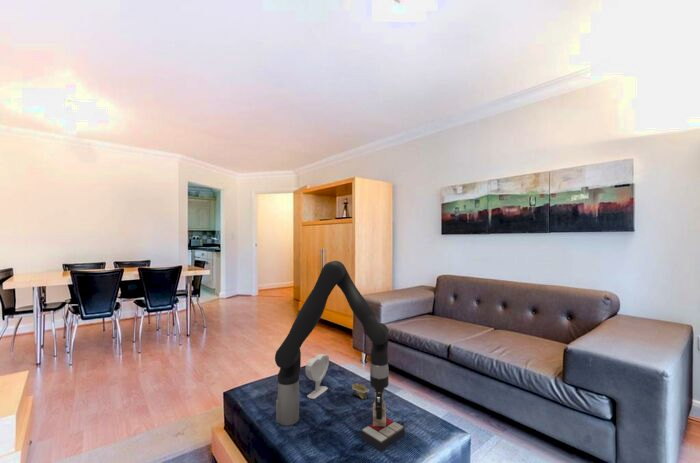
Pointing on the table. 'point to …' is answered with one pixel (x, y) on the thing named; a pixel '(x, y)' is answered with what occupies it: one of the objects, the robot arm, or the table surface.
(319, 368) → the heart sculpture
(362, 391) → the olive plastic tub
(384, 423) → the maple block
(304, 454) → the table surface
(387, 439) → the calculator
